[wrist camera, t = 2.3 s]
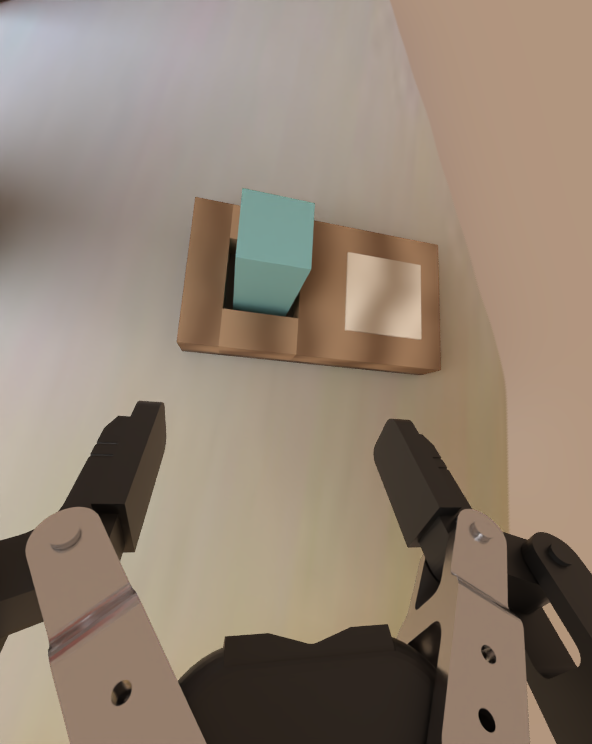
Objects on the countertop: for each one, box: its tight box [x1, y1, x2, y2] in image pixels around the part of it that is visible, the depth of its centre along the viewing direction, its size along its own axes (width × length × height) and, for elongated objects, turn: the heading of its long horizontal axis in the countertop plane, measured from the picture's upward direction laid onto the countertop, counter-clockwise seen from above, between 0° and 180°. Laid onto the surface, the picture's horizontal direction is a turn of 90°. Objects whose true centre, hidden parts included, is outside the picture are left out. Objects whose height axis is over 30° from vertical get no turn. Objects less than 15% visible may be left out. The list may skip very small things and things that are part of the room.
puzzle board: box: [177, 197, 441, 375], centre depth 27 cm, size 22×12×3 cm, turn 86°
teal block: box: [233, 188, 315, 317], centre depth 23 cm, size 4×4×9 cm
